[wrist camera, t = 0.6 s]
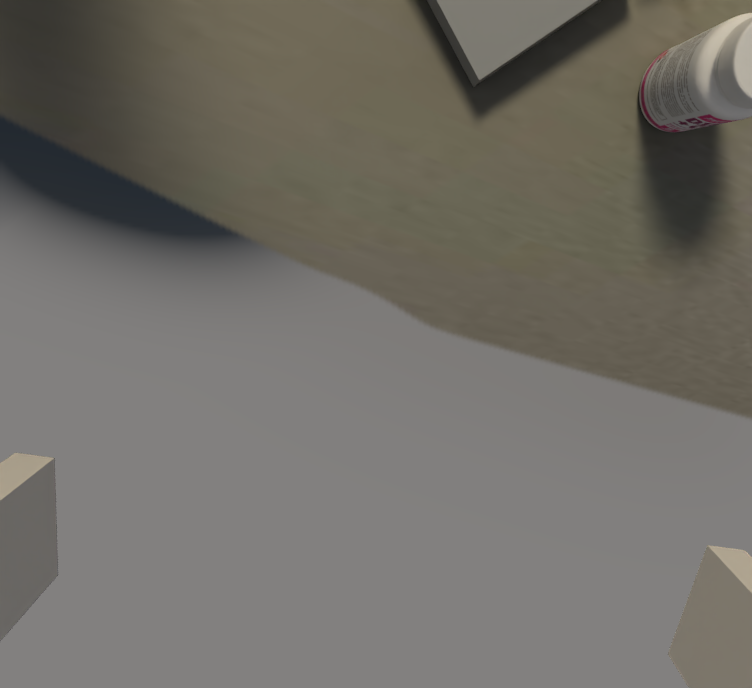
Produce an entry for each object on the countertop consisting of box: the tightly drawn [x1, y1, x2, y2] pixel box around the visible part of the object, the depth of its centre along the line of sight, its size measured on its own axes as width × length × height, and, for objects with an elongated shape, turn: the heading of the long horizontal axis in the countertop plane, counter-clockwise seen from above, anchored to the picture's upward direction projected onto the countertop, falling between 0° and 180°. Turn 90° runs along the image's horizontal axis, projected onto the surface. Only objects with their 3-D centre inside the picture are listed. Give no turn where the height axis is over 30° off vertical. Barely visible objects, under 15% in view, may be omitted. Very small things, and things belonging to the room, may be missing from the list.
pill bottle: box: [639, 13, 752, 132], centre depth 27 cm, size 5×5×8 cm
